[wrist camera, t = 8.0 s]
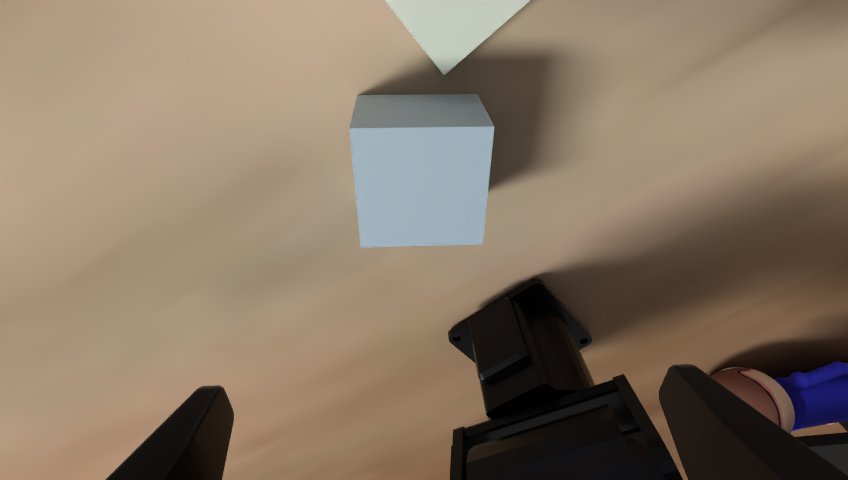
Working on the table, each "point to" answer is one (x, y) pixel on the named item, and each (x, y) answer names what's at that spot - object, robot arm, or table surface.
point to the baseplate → (453, 25)
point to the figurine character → (799, 403)
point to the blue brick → (421, 169)
